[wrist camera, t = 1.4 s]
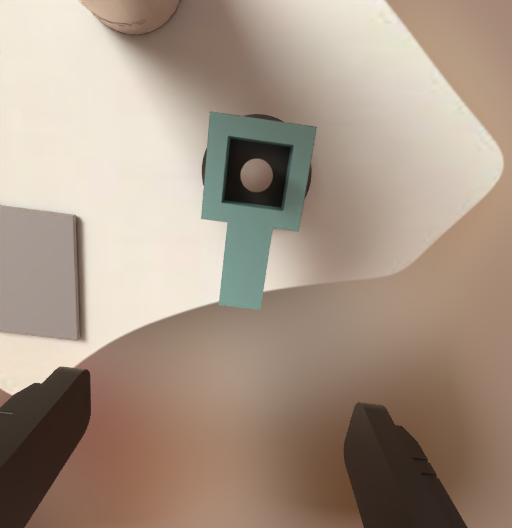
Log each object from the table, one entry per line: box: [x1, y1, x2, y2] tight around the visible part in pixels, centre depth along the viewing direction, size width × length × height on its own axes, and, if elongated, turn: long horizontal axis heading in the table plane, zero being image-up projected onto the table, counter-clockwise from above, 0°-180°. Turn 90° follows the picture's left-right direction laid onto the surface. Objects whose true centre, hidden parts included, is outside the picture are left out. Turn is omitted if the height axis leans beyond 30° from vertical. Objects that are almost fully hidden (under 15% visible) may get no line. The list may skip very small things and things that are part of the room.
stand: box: [202, 114, 311, 208], centre depth 24 cm, size 9×9×14 cm
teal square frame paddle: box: [201, 112, 317, 310], centre depth 22 cm, size 12×6×2 cm, turn 172°
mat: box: [0, 205, 80, 340], centre depth 33 cm, size 14×10×1 cm
